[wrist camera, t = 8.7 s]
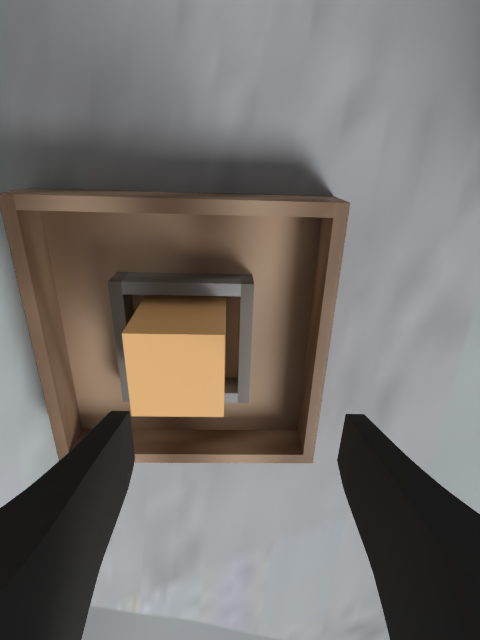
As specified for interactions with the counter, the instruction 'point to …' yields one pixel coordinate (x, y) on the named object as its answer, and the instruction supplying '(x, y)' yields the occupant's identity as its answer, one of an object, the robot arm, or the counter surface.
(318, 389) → the box
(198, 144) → the counter surface
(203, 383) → the plug
